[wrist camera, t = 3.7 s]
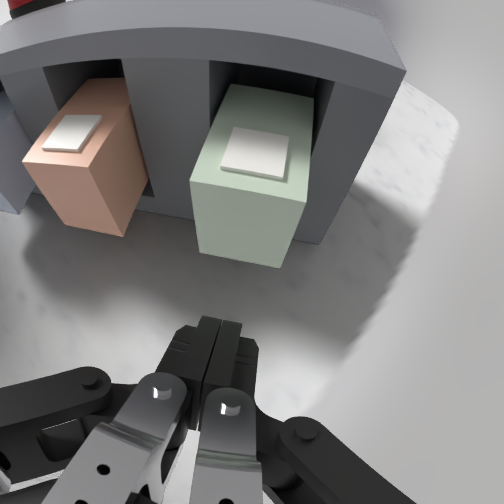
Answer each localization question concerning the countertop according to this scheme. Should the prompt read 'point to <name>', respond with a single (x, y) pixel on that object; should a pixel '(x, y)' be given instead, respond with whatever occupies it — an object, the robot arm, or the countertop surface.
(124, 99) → the key terracotta
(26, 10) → the cola bottle
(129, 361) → the countertop surface
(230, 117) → the key sage
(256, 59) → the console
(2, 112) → the key slate
